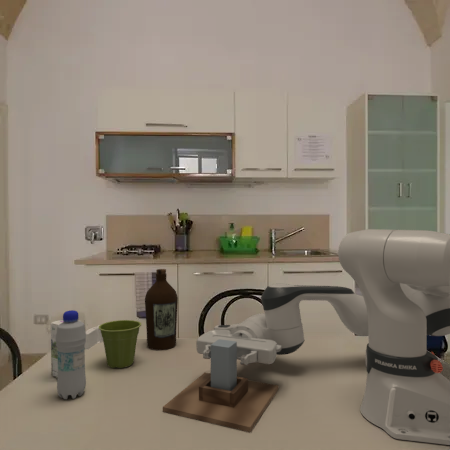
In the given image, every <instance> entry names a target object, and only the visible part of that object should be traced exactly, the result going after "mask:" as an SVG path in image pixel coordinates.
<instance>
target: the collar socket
mask: <svg viewBox="0 0 450 450" xmlns="http://www.w3.org/2000/svg"><path fill="white" fill-rule="evenodd" d="M277 392H279V385H277V384H272V383H268V382H267V383H266V382H261V381H255V380H249V378H246V377H242V376H237V386H236V387H235V388H234V389H233V390H232V391H229V390H224V389H219V388H213V387H211V372H207V371H205V372H203V373H202V374H201V375H200V376H198V377H197V378H196V379H195V380H194V381H192V382H191V383H190V384H189V385H187V386H186V387H185V388H184V389H183V390H181V391H180V392H178V394H176V395H175V396H174V397H173V398H172V399H170V400H169V401H167V402H166V403H165V404H164V405H163V406H162V412H164V413H168V414H172V415H175V416H179V417H184V418H188V419H189V418H190V419H194V420H198V421H201V422H205V423H209V424H212V425H218V426H222V427H225V428H226V427H227V428H230V429H234V430H239V431H243V432H246V433H247V432H248V433H251V432H252V431H253V429H254V427H255V426H256V425H257V423H258V421H259V420H260V418H261V417H262V415H263V414H264V412H265V411H266V409H267V408H268V406H269V405H270V403H271V402H272V401H273V399H274V397H275V396H276V394H278V393H277Z"/></svg>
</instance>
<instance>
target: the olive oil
mask: <svg viewBox="0 0 450 450" xmlns="http://www.w3.org/2000/svg"><path fill="white" fill-rule="evenodd" d="M155 271H156V274H155V282H154V283H153V284H152V286H150V288H149V289H148V290H147V291H146V293H145V296H144V297H145V298H144V306H145V308H144V309H145V326H146V346H147V348H148V349H150V350H155V351H164V350H166V351H167V350H171V349H173V348H174V347H176V345H177V326H178V325H177V323H178V303H179V302H178V301H179V298H178V295H177V291H176V290H175V288H174V287H173V286H172V285H171V284H170V283H169V282H168V281H167V269H165V268H159V269H158V268H157V269H156V270H155Z"/></svg>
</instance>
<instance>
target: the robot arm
mask: <svg viewBox="0 0 450 450" xmlns="http://www.w3.org/2000/svg"><path fill="white" fill-rule="evenodd" d="M337 250H338V252H337V255H338V256H337V257H338V261H339V263H340V266H341V267H342V269H343V270H344V271H345V272H346V273H347V274H348V275H349V276H350V277H351V278H352V280H353V281H354V282H355V283H356V285H357V287H358V289H359V291H360V292H361V293H360V294H357V293H355V292H354V290H353V289H351V288H350V287H346V286H345V287H344V286H338V285H337V286H336V285H333V286H332V285H298V284H297V285H296V284H295V285H294V284H288V283H273V284H270V285H268V286H267V287H266V288H264V291H263V292H262V294H261V296H260V302H261V304H262V308H263V311H264V312H261V313H260V312H259V313H256V314H253V315H251V316H249V317H247V318H245V319H244V320H243V321H240V323H233V324H222V325H221V324H219V325H218V324H217V325H215V326H214V327H213V329H211V330H208V331H206V332H205V333H203V334H201V335H200V336H199V337H198V338H197V339H196V352H197V354H199V355H202V359H204V360H205V359H206V360H211V344H213V343H214V342H216V341H217V340H219V339H221V340H229V341H236V342H237V360H238V361H239V362H240V363H239V364H240V365H242V366H248V365H249V364H252V363H258V364H264V365H270V364H273V363H275V360H276V359H277V356H281V355H282V356H283V355H289V354H292V353H294V352H296V351H298V350H299V349H300V348H301V347H302V345H303V344H304V343H305V333H304V328H303V322H302V316H301V309H300V303H301V302H302V301H323V302H324V301H325V302H326V301H327V302H328V303H330V304H331V306H332V307H333V308H334V311H335V312H336V314H337V316H338V318H339V319H340V321H341V322H342V324H343V326H345V328H346V329H347V330H349V332H350V333H353V335H356V336H359V337H368V343H367V345H366V349H365V368H366V369H365V370H366V372H367V373H366V382H365V387H364V388H365V389H364V395H363V398H362V401H361V405H360V407H359V409H360V412H361V415H362V416H363V417H364V418H365V419H366V420H368V421H369V422H370V423H371V424H373V425H374V426H377V427H379V428H380V429H383V431H384V432H386V433H387V435H389V436H390V437H392V438H394V439H396V440H403V441H412V442H420V443H427V444H437V445H438V444H439V445H447V446H450V380H449V379H448V378H447V377H446V376H444V375H443V374H442V372H443V370H444V368H443V367H444V366H443V364H442V362H441V361H440V360H438V359H439V358H438V357H437V355H435V353H434V352H433V351H429V350H428V349H427V345H428V343H427V342H428V341H427V336H430V337H442V336H448V335H450V233H444V232H441V231H434V230H430V229H429V230H427V229H426V230H425V229H423V230H422V229H388V228H387V229H381V228H380V229H377V228H368V229H361V230H356V231H352V232H348V233H347V234H345V235H344V236H343V238H342V239H341V241H340V242H339V246H338V249H337Z"/></svg>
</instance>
